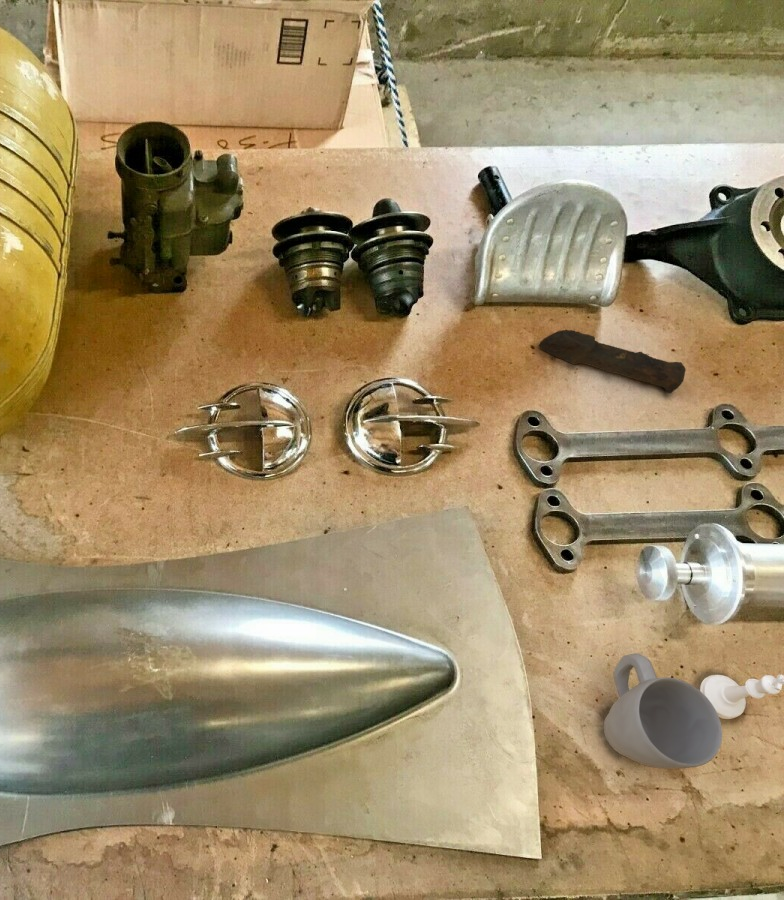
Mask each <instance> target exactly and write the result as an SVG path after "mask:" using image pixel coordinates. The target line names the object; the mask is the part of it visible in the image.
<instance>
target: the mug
mask: <svg viewBox="0 0 784 900" xmlns="http://www.w3.org/2000/svg"><path fill="white" fill-rule="evenodd" d="M633 669H634V670H635V674H636V676H637V680H638V684H637V685H635V686H634V687H632V688H630V685H629V681H630V680H629V679H630V673H631V671H632V670H633ZM613 681H614V685H615V689H616V693H617V695H618V698H617V700H616V701H615V702H614V703H613V705H611V707H610V710H609V711H608V713H607V715H606V716H605V718H604V721H603V733H604V736H605V739H606V741H607V742H608V745H610V747H611V748H612V749H613V750H614V751H615V752H616V753H618V754H619V755H621V756H623V757H626V758H627V759H630V760H631V761H633V762H635V763H637V764H640V765H642V766H647V767H650V768H656V769H665V770H684V769H685V770H686V769H692V768H696V767H701V766H704V765H706V764H708V763H709V762H711V761H712V760H714V758H715V757H716V756H717V754H718V753H719V751H720V748H721V746H722V742H723V741H722V740H723V728H722V723H721V720H720V719H721V718H720V717H718V714H717V712H716V710H715V708H714V707H713V705H712V704H711V702H710V701H709V700H708V698H707V697H706V696H705V695H704V694H703V693H702V692H701V691H700V689H698V688H697V687H696V686H694V685H693V684H691V683H689V682H687V681H685V680H682V679H680V678H675V677H670V676H669V677H658V676H657V673H656V670H655V668H654V666H653V663H652V661H651V660H650V659H649V658H648V657H647V656H645V655H643V654H641V653H636V652H635V653H630V654H626V655H623V656H622V657H621V658H620V659H619V660H618V662H617V664H616V666H615V668H614V670H613Z"/></svg>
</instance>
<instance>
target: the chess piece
mask: <svg viewBox="0 0 784 900" xmlns="http://www.w3.org/2000/svg"><path fill="white" fill-rule="evenodd" d="M744 684H745V685H739V684H738V683H737V682H736V681H735V680H733V678H731V677H729V676H726V675H723V674H711V675H708V676H706V677H705V678H704V679H703V680H702V681H701V683H700V687H699V691H701V692H702V693H703V694H704V695H705V696H706V697H707V698H708V700H709V701H710V702H711V704H712V705H713V707H714V708H715V710H716V712H717V714H718V717H719V719H724V720H733V719H735V718H737V717H740V716H741V715H742V714H743V713H744V711H745V709H746V705H747V700H746V698H747V697H749V696H750V697H752V698H754V699H756V700H757V699H759V700H760V699H762V698H763V697H765V696H766V694H769V695H777V694H779V693H780V692H781V691H782V688H783V685H784V675H783V674H781V673H780V674H777V676H776V677H775V676H773V675H771V674H765V675H763V676H761V678H760V679H757V678H748V679H747V680H745V683H744Z"/></svg>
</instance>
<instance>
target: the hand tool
mask: <svg viewBox="0 0 784 900" xmlns="http://www.w3.org/2000/svg"><path fill="white" fill-rule="evenodd" d="M538 346H539V348H540V349H541V350H543V351H544V352H546V353H548V354H550V355H552V356H553V357H556V358H558V359H561V360H564V361H566V362H567V363H570V364H572V365H577V364H584V365H588V366H592V367H594V368H597V369H599V370H604V371H606V372H608V373H613V374H618V375H621V376H624V377H627V378H630V379H633V380H637V381H639V382H644V383H647V384H650V385H655V386H658V387H661V388H664V390H665V393H666V394H672V393H673V392H674V391H675V390H677V389H678V388H679V387H681V385H682V384H683V382H684V380H685V375H686V371H687V369H686V366H685V365H684V364H683V362H682V361H666V360H664V359H663V360H662V359H659V358H655V357H652V356H650V355H648V354H647V353H644V352H642V351H636V352H635V351H632V350H627V349H625V348H624V349H623V348H621V347H617V346H614V345H609V344H606V343H603V342H599V341H597V340H596V337H595V336H594V335H591V334H587V333H582V332H580V331H576V330H572V329H569V330H568V329H564V330H558V331H556V332H553V333H551V334H549V335H548V336H545V337H544V338H543V339H542V340H541V341H540V342H539V343H538Z"/></svg>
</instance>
